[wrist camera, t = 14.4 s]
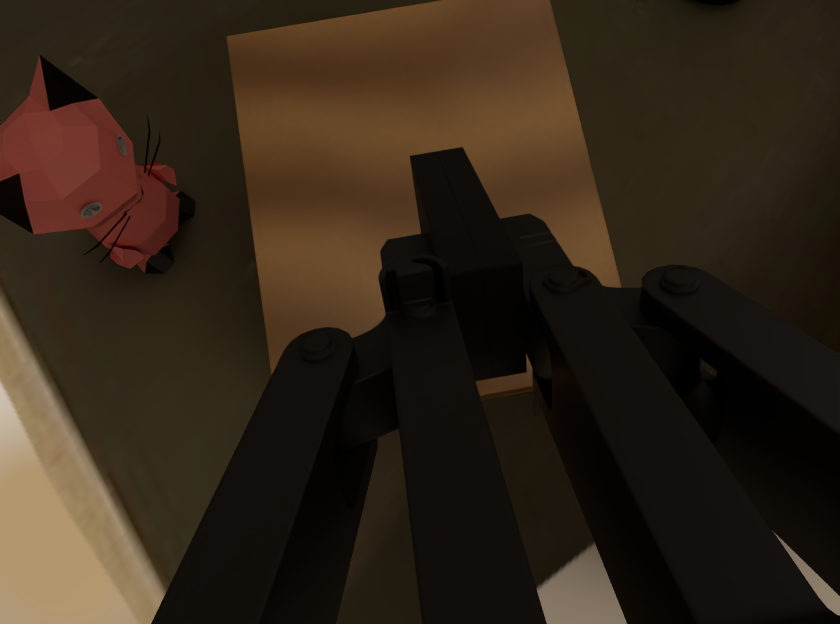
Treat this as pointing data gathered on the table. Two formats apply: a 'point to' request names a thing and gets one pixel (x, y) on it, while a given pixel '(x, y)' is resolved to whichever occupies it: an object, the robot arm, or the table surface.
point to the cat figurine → (86, 175)
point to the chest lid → (401, 148)
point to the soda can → (717, 2)
